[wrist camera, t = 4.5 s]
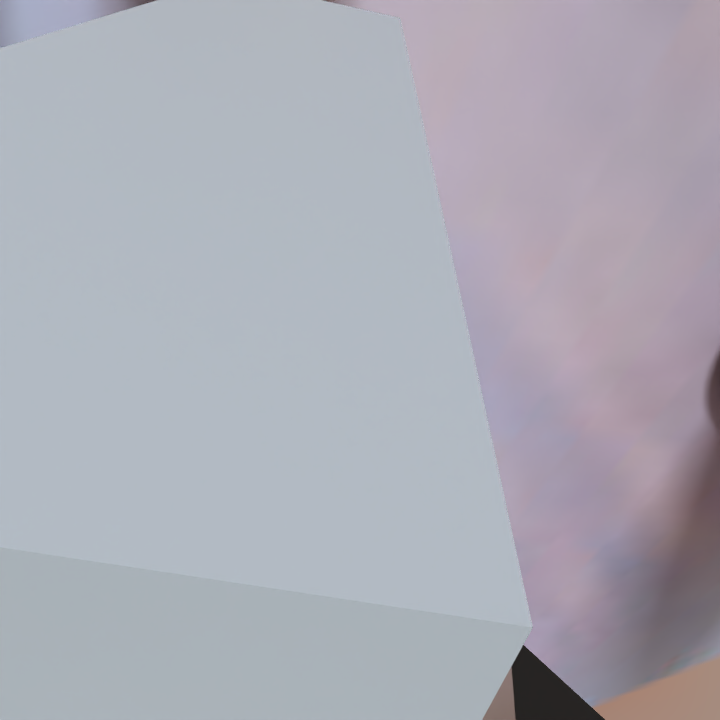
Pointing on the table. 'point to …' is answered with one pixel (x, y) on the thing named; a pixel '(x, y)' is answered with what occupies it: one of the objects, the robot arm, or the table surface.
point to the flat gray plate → (238, 381)
